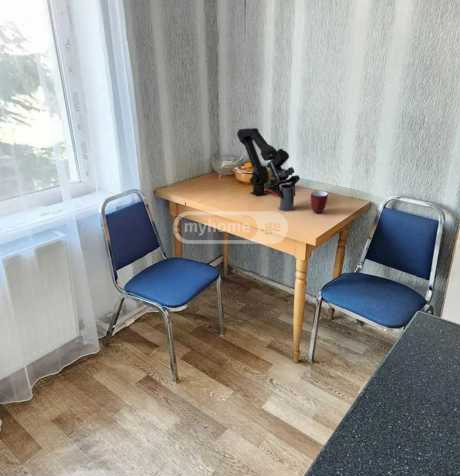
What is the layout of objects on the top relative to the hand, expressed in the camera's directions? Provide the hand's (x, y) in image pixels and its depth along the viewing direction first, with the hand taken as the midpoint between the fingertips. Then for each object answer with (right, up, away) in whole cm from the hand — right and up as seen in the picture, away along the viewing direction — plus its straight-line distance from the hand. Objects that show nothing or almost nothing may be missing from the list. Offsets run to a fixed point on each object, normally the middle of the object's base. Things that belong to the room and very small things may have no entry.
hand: (288, 197), depth 199 cm
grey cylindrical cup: (-1, -6, +4) cm, 7 cm away
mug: (+14, -8, -2) cm, 17 cm away
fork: (-4, +3, +23) cm, 24 cm away
